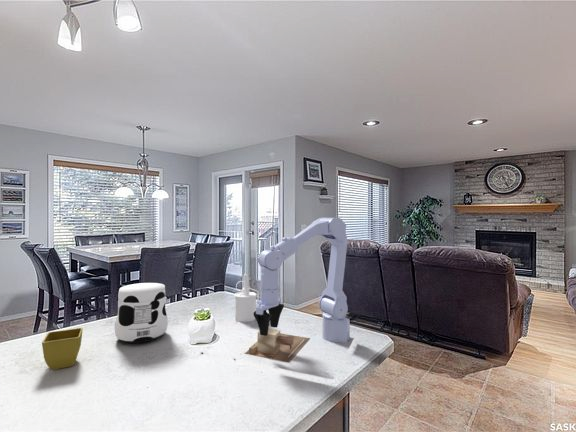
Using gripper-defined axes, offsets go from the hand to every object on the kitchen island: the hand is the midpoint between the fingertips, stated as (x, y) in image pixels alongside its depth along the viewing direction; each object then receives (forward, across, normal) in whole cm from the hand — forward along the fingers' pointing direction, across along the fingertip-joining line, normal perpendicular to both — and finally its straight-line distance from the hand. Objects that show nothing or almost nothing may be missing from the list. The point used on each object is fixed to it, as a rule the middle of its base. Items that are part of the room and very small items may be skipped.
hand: (269, 330), depth 101 cm
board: (+8, -5, +1) cm, 9 cm away
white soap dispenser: (+8, -25, -22) cm, 34 cm away
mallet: (+6, 0, +2) cm, 7 cm away
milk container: (+8, +5, -48) cm, 49 cm away
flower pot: (+8, +30, -52) cm, 61 cm away
